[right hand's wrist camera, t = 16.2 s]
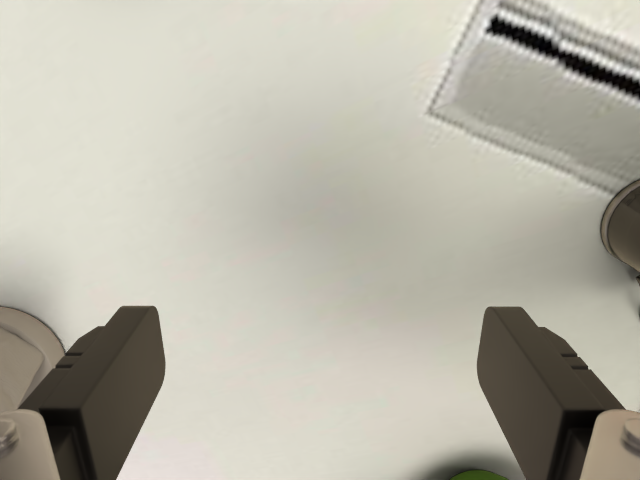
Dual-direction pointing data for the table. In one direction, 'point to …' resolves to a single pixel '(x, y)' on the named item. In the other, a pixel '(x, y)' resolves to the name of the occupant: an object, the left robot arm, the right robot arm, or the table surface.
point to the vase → (478, 475)
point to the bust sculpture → (24, 356)
